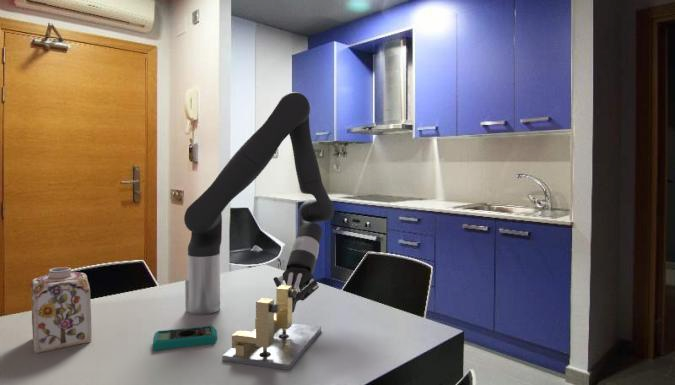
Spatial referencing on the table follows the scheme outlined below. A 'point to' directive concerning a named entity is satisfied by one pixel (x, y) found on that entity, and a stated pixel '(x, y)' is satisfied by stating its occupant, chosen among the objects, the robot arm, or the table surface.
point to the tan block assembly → (257, 330)
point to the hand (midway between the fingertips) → (287, 313)
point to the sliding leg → (283, 307)
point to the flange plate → (279, 348)
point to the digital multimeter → (184, 337)
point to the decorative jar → (60, 310)
